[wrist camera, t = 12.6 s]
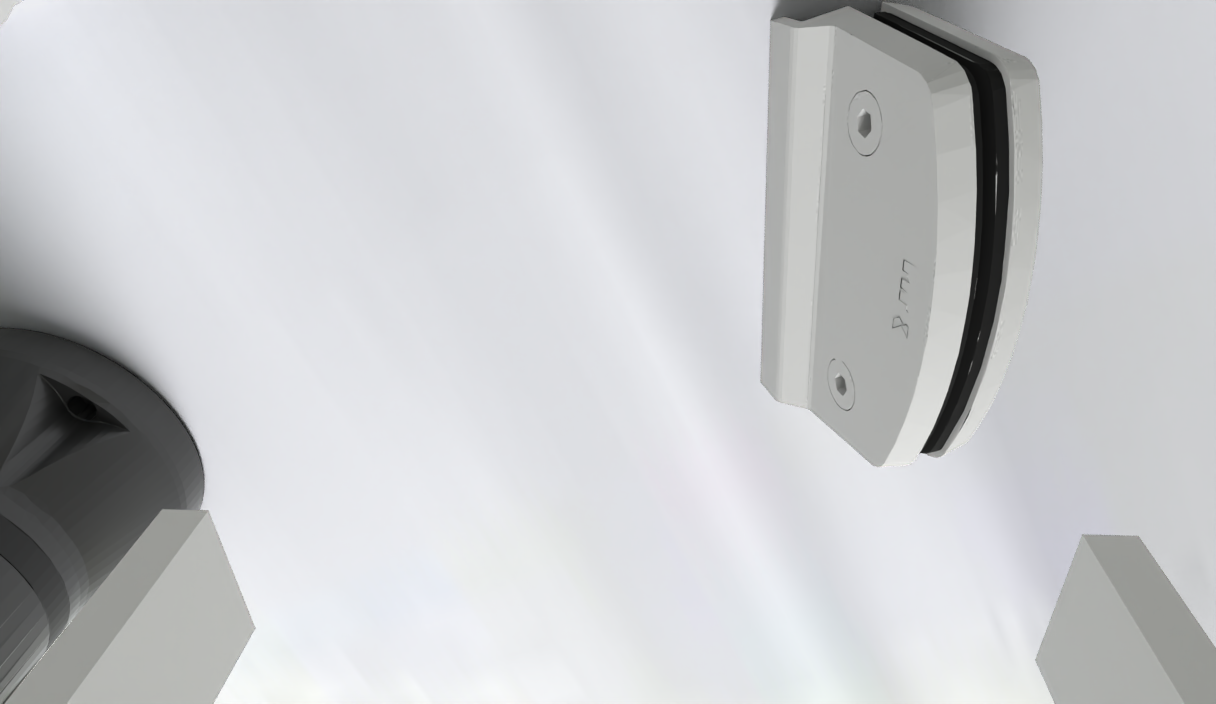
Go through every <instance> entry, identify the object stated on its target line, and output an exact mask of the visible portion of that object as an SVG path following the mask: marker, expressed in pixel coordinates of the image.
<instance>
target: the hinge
mask: <svg viewBox="0 0 1216 704" xmlns="http://www.w3.org/2000/svg"><path fill="white" fill-rule="evenodd" d="M1042 168H1043V152H1042V115H1041V100H1040V85H1039V78H1038V75H1037V72H1036V69H1035V67H1034V66H1033V64H1032V63H1031V62H1030V60H1029V59H1027V58H1026V57H1024V56H1022V55H1020V54H1017V53H1015V52H1013V51H1011V50H1009V49H1006V48H1004V47H1002V46H1000V45H998V44H995V43H993V42H991V41H989V40H987V39H984V38H982V37H980V36H978V35H975V34H973V33H971V32H969V31H967V30H964V29H962V28H960V27H958V26H956V25H953V24H951V23H949V22H947V21H944V20H942V19H940V18H938V17H936V16H933V15H931V14H929V13H927V12H925V11H922V10H920V9H918V8H916V7H913V6H909V5H904V4H898V3H890V2H883V1H882V5H881V12H878V13H875V14H874V18H872V17H870V16H868V15H866V14H864V13H862V12H860V11H858V10H856V9H854V8H852V7H850V6H846V7H843V8H841V9H838V10H835V11H832V12H829V13H826V14H823V15H820V16H817V17H814V18H811V19H808V20H805V21H798V20H794V19H791V18H787V17H781V18H777V19H774V20H771V22H770V58H769V95H768V132H767V169H766V205H765V242H764V279H763V315H762V352H761V383H762V385H763V386H764V387H765V388H766V389H767V391H768V392H769V393H770V394H771V395H772V397H773V398H774V399H775V400H776V401H778V402H780V403H783V404H788V405H792V406H797V407H802V408H806V409H808V410H810V411H812V412H813V413H814V414H815V415H816V416H817V417H818V418H819V419H821V420H822V421H823V422H824V423H825V424H826V425H827V426H829V427H830V428H831V429H832V430H833V431H834V432H835V433H836V434H838V435H839V436H840V437H841V438H842V439H843V440H844V441H845V442H847V443H848V444H849V445H850V446H851V447H852V448H853V449H855V450H856V451H857V452H858V453H859V454H860V455H861V456H862V457H864V458H865V459H866V460H867V461H868V462H869V463H870V464H871V465H873V466H876V467H891V466H908V465H911V464H912V463H913V462H914V461H915V460H916V458H917V457H918V455H919V454H920V453H925V454H927V455H928V456H931V457H934V458H939V457H942V456H944V455H946V454H948V453H950V452H952V451H953V450H955V449H957V448H959V447H961V446H963V445H964V444H966V443H968V441H969V440H970V439H971V437H972V436H973V434H974V433H975V431H976V430H977V429H978V427H979V426H980V424H981V423H982V421H983V419H984V417H985V415H986V414H987V412H988V410H989V408H990V407H991V405H992V403H993V401H994V399H995V397H996V395H997V392H998V390H999V388H1000V386H1001V384H1002V381H1003V379H1004V376H1005V374H1006V371H1007V368H1008V366H1009V363H1010V361H1011V358H1012V356H1013V352H1014V349H1015V346H1016V342H1017V339H1018V336H1019V332H1020V329H1021V325H1022V321H1023V317H1024V314H1025V310H1026V306H1027V302H1028V296H1029V291H1030V285H1031V280H1032V275H1033V269H1034V264H1035V256H1036V248H1037V240H1038V230H1039V220H1040V209H1041V194H1042Z"/></svg>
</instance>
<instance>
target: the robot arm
mask: <svg viewBox="0 0 1216 704" xmlns="http://www.w3.org/2000/svg"><path fill="white" fill-rule="evenodd" d="M203 495H204V476H203V469H202V466H201V462H200V459H199V456H198V453H197V450H196V448H195V446H194V444H193V442H192V440H191V438H190V436H189V434H188V433H187V431H186V430H185V428H184V426H183V425H182V424H181V422H180V421H179V419H178V418H177V417H176V415H175V414H174V413H173V412H172V410H171V409H170V408H169V407H168V406H167V405H166V404H165V403H164V402H163V401H162V400H161V399H160V398H159V397H158V396H157V395H156V394H155V393H154V392H153V391H152V390H151V389H150V388H149V387H148V386H146V385H145V384H144V383H143V382H141V381H140V380H139V379H138V378H136V377H135V376H134V375H132V374H131V373H130V372H128V371H127V370H125V369H124V368H122V367H121V366H119V365H118V364H116V363H114V362H113V361H111V360H109V359H108V358H106V357H104V356H102V355H100V354H98V353H96V352H94V351H92V350H90V349H88V348H86V347H83V346H81V345H78V344H76V343H74V342H71V341H68V340H65V339H62V338H59V337H56V336H52V335H49V334H44V333H40V332H35V331H29V330H22V329H11V328H0V704H213V703H214V702H215V700H216V698H217V696H218V694H219V693H220V691H221V689H222V687H223V685H224V684H225V682H226V680H227V678H228V676H229V675H230V673H231V671H232V669H233V667H234V666H235V664H236V662H237V660H238V659H239V657H240V655H241V653H242V651H243V650H244V648H245V646H246V644H247V642H248V641H249V639H250V637H251V635H252V633H253V632H254V630H255V626H254V624H253V621H252V619H251V616H250V614H249V611H248V609H247V606H246V604H245V601H244V599H243V596H242V594H241V591H240V589H239V586H238V584H237V581H236V579H235V576H234V573H233V571H232V568H231V566H230V563H229V561H228V558H227V556H226V553H225V551H224V548H223V546H222V543H221V541H220V538H219V536H218V533H217V531H216V528H215V526H214V523H213V521H212V518H211V516H210V513H209V511H208V510H200V507H201V504H202V501H203ZM71 621H72V622H71ZM70 622H71V623H70ZM69 623H70V624H69ZM68 624H69V625H68ZM67 625H68V626H67ZM66 627H67V628H66ZM65 628H66V629H65ZM64 629H65V630H64ZM63 630H64V631H63ZM62 632H63V633H62ZM61 633H62V634H61ZM60 634H61V635H60ZM59 635H60V637H59V638H58V639H57V637H58V636H59ZM56 639H57V640H56ZM55 640H56V641H55ZM54 641H55V643H54V644H53V642H54ZM52 644H53V645H52ZM51 645H52V646H51ZM50 646H51V648H50V649H49V650H48V648H49V647H50ZM47 650H48V651H47ZM46 651H47V653H46V654H45V655H44V653H45V652H46ZM43 655H44V656H43ZM42 656H43V657H42ZM41 658H42V659H41ZM40 659H41V660H40ZM39 660H40V661H39ZM1035 660H1036V663H1037V665H1038V667H1039V669H1040V672H1041V674H1042V676H1043V678H1044V680H1045V683H1046V685H1047V687H1048V689H1049V692H1050V694H1051V696H1052V698H1053V700H1054V703H1055V704H1216V648H1215V646H1214V645H1213V643H1212V642H1211V640H1210V639H1209V638H1208V636H1207V635H1206V633H1205V632H1204V630H1203V629H1202V627H1201V626H1200V624H1199V623H1198V622H1197V620H1196V619H1195V617H1194V616H1193V614H1192V613H1191V611H1190V610H1189V608H1188V607H1187V606H1186V604H1185V603H1184V601H1183V600H1182V598H1181V597H1180V595H1179V594H1178V592H1177V591H1176V590H1175V588H1174V587H1173V585H1172V584H1171V582H1170V581H1169V579H1168V578H1167V576H1166V575H1165V574H1164V572H1163V571H1162V569H1161V568H1160V566H1159V565H1158V563H1157V562H1156V560H1155V559H1154V558H1153V556H1152V555H1151V553H1150V552H1149V550H1148V549H1147V547H1146V546H1145V545H1144V543H1143V542H1142V540H1141V539H1140V537H1139V536H1121V535H1084V534H1082V537H1081V539H1080V542H1079V545H1078V547H1077V550H1076V553H1075V555H1074V558H1073V561H1072V563H1071V566H1070V569H1069V571H1068V574H1067V577H1066V579H1065V582H1064V585H1063V587H1062V590H1061V593H1060V595H1059V598H1058V601H1057V603H1056V606H1055V609H1054V611H1053V614H1052V617H1051V619H1050V622H1049V625H1048V627H1047V630H1046V633H1045V635H1044V638H1043V641H1042V643H1041V646H1040V649H1039V651H1038V654H1037V657H1036V659H1035ZM38 661H39V662H38ZM37 663H38V664H37ZM36 664H37V665H36ZM35 665H36V666H35ZM33 668H34V669H33ZM32 669H33V670H32ZM31 670H32V671H31ZM29 673H30V674H29ZM28 674H29V675H28ZM27 675H28V676H27ZM24 679H25V680H24ZM20 684H21V685H20Z"/></svg>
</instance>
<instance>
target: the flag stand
mask: <svg viewBox="0 0 1216 704" xmlns="http://www.w3.org/2000/svg"><path fill="white" fill-rule="evenodd" d="M22 1H24V0H0V26H1V25H2V24H3V23H4V22H5V21H6V20H7V19H8V17H9V15H10V13H11V11H12V9H13V7H14V6H15V5H17V4H19V3H20V2H22Z"/></svg>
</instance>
